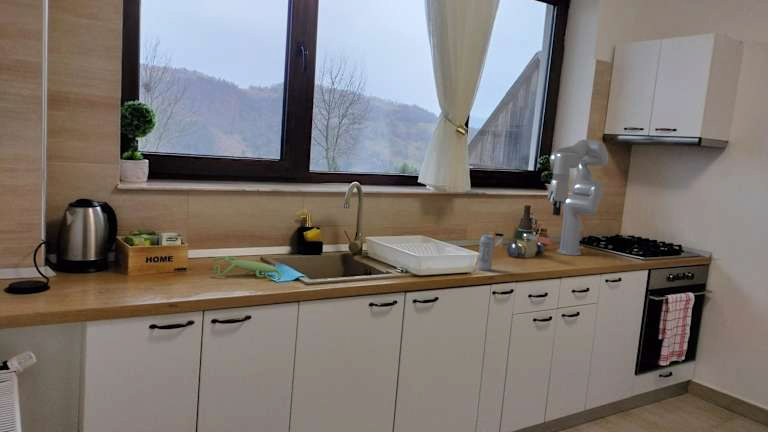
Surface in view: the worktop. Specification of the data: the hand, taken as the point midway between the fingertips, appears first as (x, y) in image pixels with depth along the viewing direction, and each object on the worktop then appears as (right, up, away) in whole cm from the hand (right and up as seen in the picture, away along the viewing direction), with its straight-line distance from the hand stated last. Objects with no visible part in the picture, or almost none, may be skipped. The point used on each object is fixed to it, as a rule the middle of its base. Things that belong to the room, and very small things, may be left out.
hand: (556, 215), depth 294 cm
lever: (-9, -13, +1) cm, 16 cm away
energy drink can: (-41, -24, -31) cm, 57 cm away
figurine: (-138, -23, -71) cm, 157 cm away
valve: (-14, -21, +8) cm, 26 cm away
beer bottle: (-10, -19, +29) cm, 36 cm away
